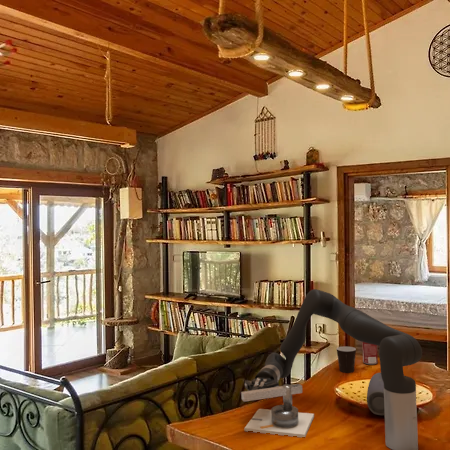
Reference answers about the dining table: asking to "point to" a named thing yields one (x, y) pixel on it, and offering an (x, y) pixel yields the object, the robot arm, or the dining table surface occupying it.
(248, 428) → the board
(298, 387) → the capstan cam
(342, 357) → the coffee mug
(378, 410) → the bluetooth speaker
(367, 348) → the soda can
